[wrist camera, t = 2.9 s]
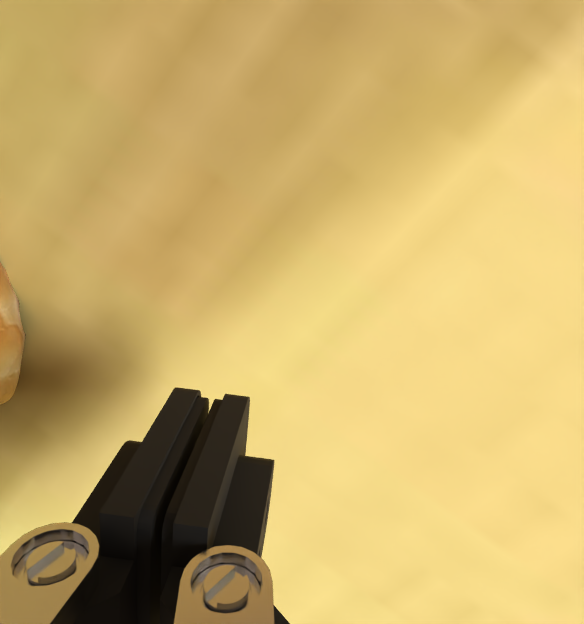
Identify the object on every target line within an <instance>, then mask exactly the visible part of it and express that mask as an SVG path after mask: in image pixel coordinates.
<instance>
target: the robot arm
mask: <svg viewBox="0 0 584 624" xmlns="http://www.w3.org/2000/svg"><path fill="white" fill-rule="evenodd" d="M249 405H250V398H249V397H246V396H238V395H230V394H225V395H224V398H223V400H219V399H215V400H214V402H213V404H212V407H211V409H210V411H209V414H208V410H209V399H208V398H203V397H201V392H200V391H199V390H192V389H184V388H174V390H173V391H172V393H171V395H170V396H169V398H168V400H167V401H166V403H165V405H164V406H163V408H162V410H161V411H160V413H159V415H158V416H157V418H156V420H155V421H154V423H153V425H152V426H151V428H150V430H149V431H148V433H147V435H146V436H145V438H144V440H143V441H142V442H137V441H127V442H125V443H124V445H123V446H122V447H121V449H120V450H119V452H118V453H117V455H116V456H115V458H114V459H113V461H112V463H111V464H110V466H109V467H108V469H107V470H106V472H105V473H104V475H103V476H102V478H101V479H100V481H99V482H98V484H97V485H96V487H95V488H94V490H93V492H92V493H91V495H90V496H89V498H88V499H87V501H86V502H85V504H84V505H83V507H82V508H81V510H80V511H79V513H78V514H77V516H76V517H75V519H74V520H73V522H72V523H67V522H64V523H54V524H49V525H45V526H42V527H39V528H36V529H34V530H32V531H30V532H28V533H26V534H24V535H23V536H21V537H20V538H19V539H18V540H16V541H15V542H14V543H13V544H12V545H11V546H10V547H9V548H8V549H7V550H6V551H5V552H4V553H3V554H2V555H1V556H0V624H290V623H289V622H288V621H287V620H286V619H285V618H284V616H283V615H282V614H281V613H280V612H279V611H278V610H277V608H276V607H275V606H274V605H273V583H272V577H271V573H270V570H269V568H268V566H267V565H266V563H265V562H264V560H263V559H262V558H261V556H262V550H263V544H264V538H265V532H266V525H267V519H268V512H269V504H270V497H271V488H272V479H273V470H274V460H271V459H264V458H256V457H249V456H245V453H246V441H247V429H248V417H249Z"/></svg>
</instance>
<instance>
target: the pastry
mask: <svg viewBox="0 0 584 624" xmlns="http://www.w3.org/2000/svg"><path fill="white" fill-rule="evenodd" d="M25 335H26V334H25V333H24V330H23V327H22V323H21V319H20V313H19V301H18V299H17V296H16V294H15V292H14V290H13V288H12V286H11V284H10V282H9V278H8V275H7V272H6V270H5V269H4V268H3V266H2V264H1V263H0V405H1V404H3V403H5V402H7V401H8V400H9V399H10V398H11V397H12V396H13V394H14V392H15V389H16V386H17V383H18V380H19V374H20V367H21V361H22V354H23V348H24V343H25Z"/></svg>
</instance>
